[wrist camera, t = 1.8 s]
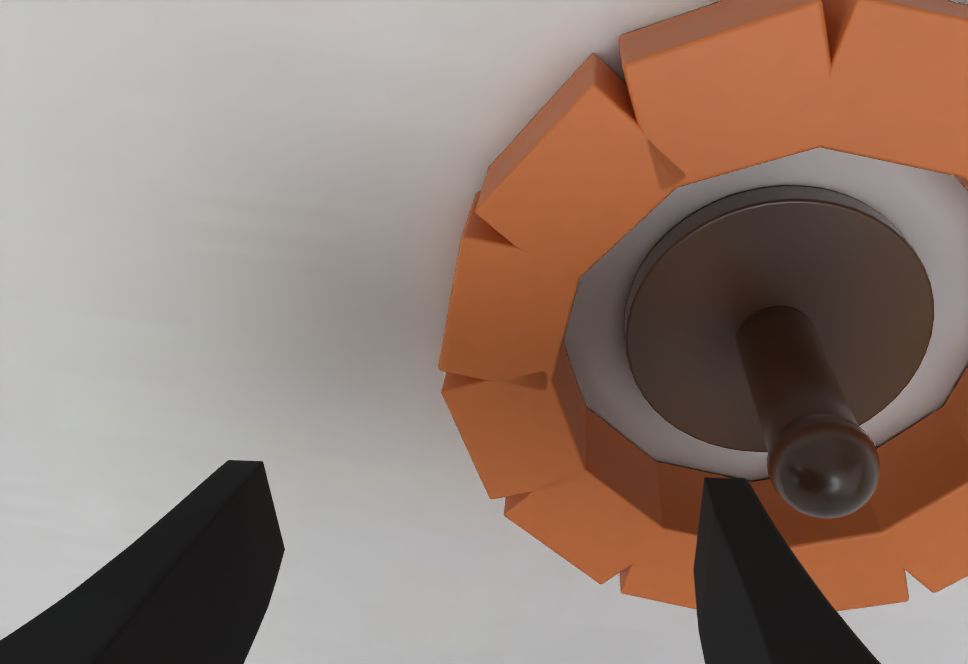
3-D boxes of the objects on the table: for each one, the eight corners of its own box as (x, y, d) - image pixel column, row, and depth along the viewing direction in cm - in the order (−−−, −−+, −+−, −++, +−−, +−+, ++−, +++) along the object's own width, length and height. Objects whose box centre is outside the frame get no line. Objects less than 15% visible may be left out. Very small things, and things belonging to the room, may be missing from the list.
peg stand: (661, 454, 20) (683, 652, 15) (591, 232, 18) (591, 388, 13) (933, 400, 19) (1058, 604, 14) (907, 145, 16) (1052, 285, 11)
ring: (561, 579, 23) (558, 650, 21) (364, 121, 17) (333, 159, 15) (1117, 490, 20) (1179, 566, 17) (1134, -141, 13) (1234, -139, 11)
